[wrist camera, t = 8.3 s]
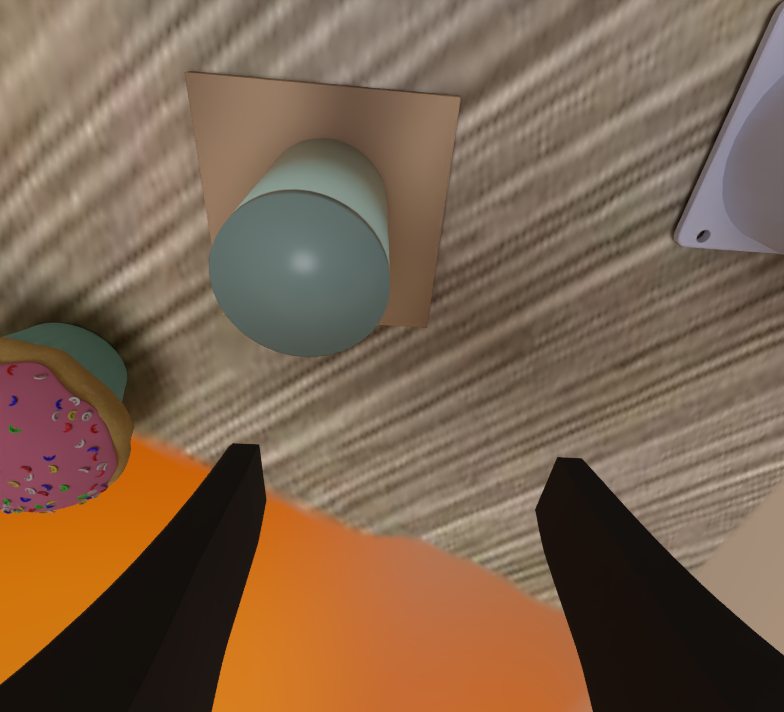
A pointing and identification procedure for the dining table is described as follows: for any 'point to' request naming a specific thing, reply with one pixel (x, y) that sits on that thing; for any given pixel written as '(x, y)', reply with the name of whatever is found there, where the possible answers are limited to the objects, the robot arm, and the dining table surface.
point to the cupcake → (60, 418)
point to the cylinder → (307, 252)
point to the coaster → (345, 124)
